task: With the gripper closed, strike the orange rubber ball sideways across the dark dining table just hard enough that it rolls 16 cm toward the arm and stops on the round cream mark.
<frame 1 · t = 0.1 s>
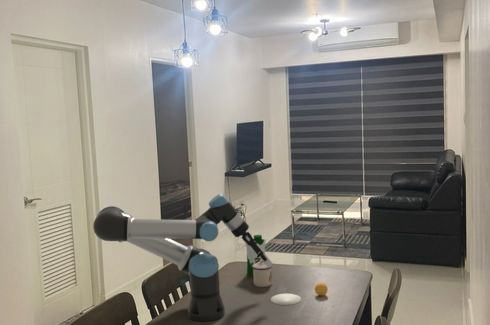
hand: (266, 261, 221), 15 cm above the table, tool tilted 35°, fingers open, 13 cm apart
ball: (321, 289, 219), on the table
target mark: (285, 299, 217), on the table
teacup with lid: (262, 283, 239), on the table
milk carton: (256, 274, 253), on the table
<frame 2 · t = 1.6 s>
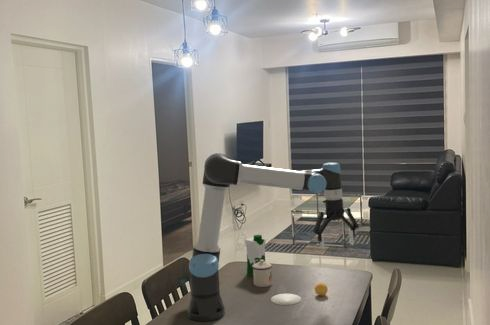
hand: (337, 246, 220), 21 cm above the table, tool pointing down, fingers open, 13 cm apart
nothing on the table moved.
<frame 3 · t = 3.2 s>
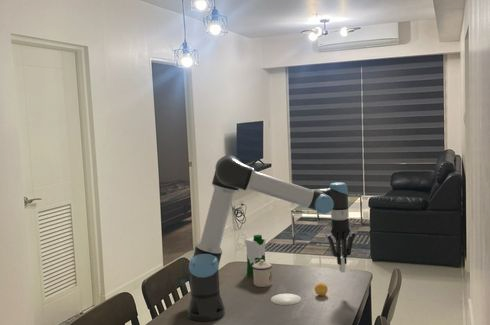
hand: (342, 271, 220), 10 cm above the table, tool pointing down, fingers closed
nothing on the table moved.
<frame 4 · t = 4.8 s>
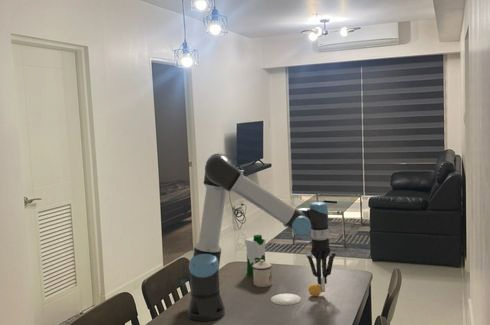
hand: (322, 291, 220), 2 cm above the table, tool pointing down, fingers closed
ball: (314, 290, 219), on the table, touching gripper
everything else where it was.
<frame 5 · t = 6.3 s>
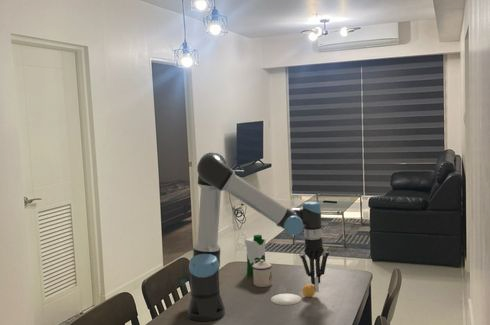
hand: (316, 290, 219), 2 cm above the table, tool pointing down, fingers closed
ball: (308, 290, 218), on the table, touching gripper
everything else where it was.
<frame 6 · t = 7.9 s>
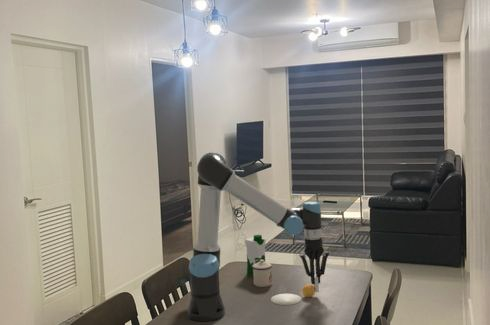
hand: (316, 290, 219), 2 cm above the table, tool pointing down, fingers closed
nothing on the table moved.
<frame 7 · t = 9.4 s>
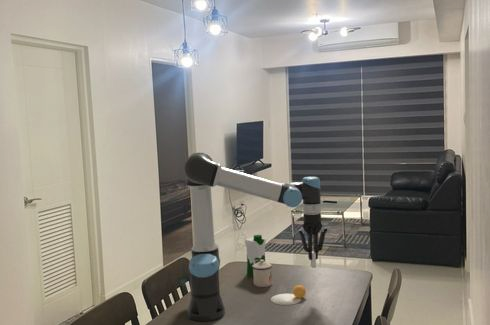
hand: (313, 266, 218), 13 cm above the table, tool pointing down, fingers closed
ball: (299, 291, 218), on the table
everything else where it was.
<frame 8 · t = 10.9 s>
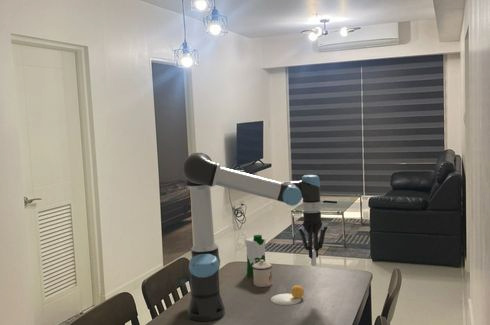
hand: (313, 264, 218), 14 cm above the table, tool pointing down, fingers closed
nothing on the table moved.
at the end: ball 5.3 cm from the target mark (horizontally); ball at rest at the end (0.0 cm/s); ball moved 10.7 cm from its start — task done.
